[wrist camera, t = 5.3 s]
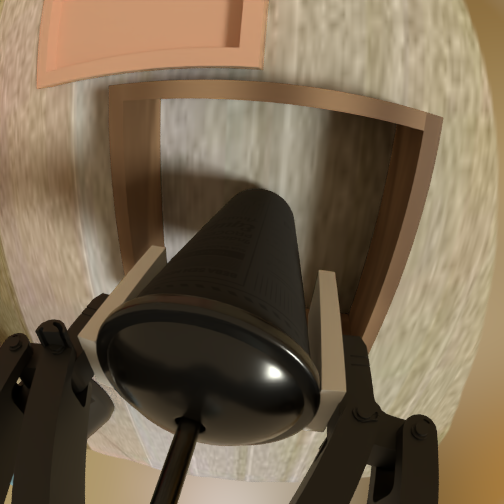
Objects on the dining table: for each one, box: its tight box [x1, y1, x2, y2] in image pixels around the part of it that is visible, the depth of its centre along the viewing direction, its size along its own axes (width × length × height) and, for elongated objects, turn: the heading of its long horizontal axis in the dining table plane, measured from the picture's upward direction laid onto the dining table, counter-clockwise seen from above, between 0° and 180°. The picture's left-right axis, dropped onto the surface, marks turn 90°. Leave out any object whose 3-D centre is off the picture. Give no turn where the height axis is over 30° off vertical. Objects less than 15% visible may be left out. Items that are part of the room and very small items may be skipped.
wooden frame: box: [109, 80, 443, 354], centre depth 20 cm, size 18×18×5 cm
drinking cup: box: [96, 189, 321, 504], centre depth 12 cm, size 8×8×20 cm
